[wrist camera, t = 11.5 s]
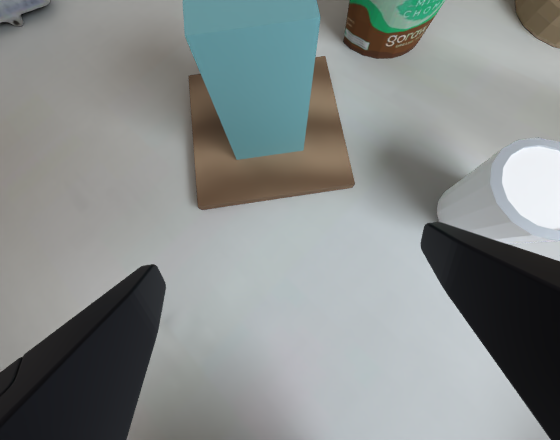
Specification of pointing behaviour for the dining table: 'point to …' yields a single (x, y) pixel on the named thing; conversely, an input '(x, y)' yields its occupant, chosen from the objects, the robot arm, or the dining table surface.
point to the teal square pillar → (256, 68)
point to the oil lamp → (541, 19)
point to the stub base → (273, 168)
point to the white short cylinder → (509, 195)
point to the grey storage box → (18, 9)
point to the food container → (387, 25)
